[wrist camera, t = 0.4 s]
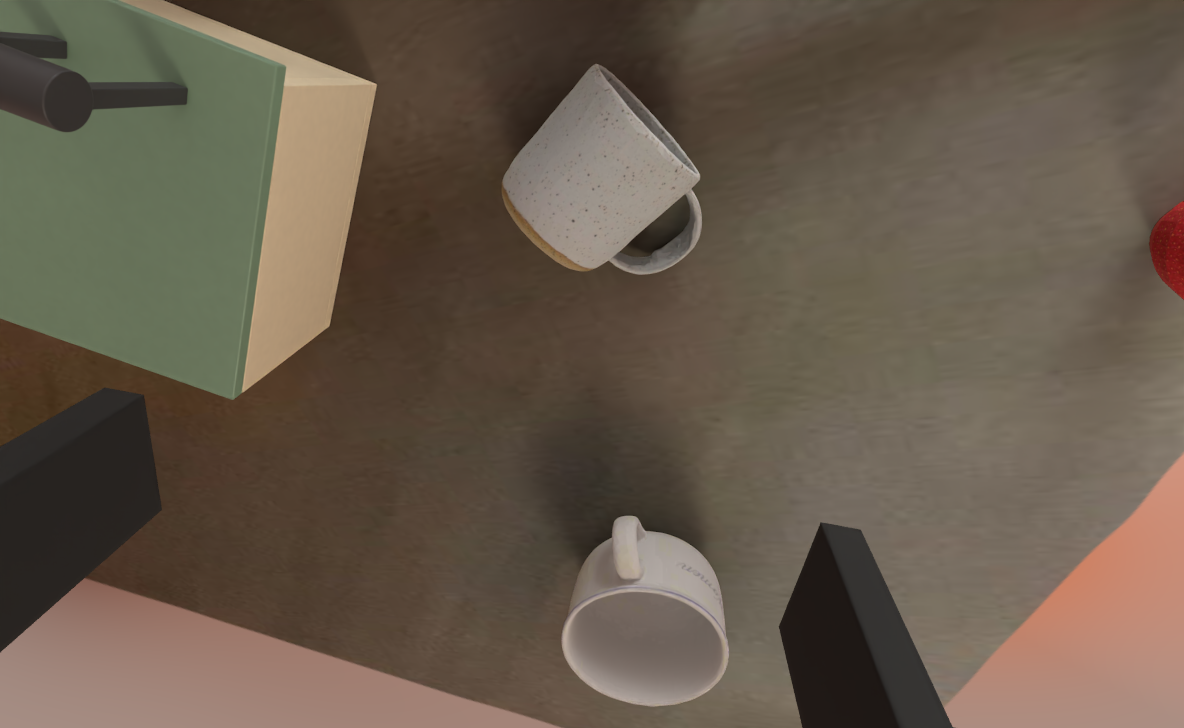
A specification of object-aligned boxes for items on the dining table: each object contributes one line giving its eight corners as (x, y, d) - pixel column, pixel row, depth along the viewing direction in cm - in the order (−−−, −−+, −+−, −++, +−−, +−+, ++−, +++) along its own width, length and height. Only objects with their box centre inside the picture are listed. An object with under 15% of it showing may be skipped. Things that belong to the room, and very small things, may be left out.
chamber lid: (-19, -54, 25) (-282, -107, 18) (287, 65, 26) (151, 60, 19) (-1, 308, 32) (-187, 373, 25) (242, 393, 33) (129, 480, 26)
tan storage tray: (156, -3, 34) (-17, -32, 25) (377, 84, 35) (285, 85, 26) (142, 258, 41) (0, 307, 32) (329, 326, 42) (242, 392, 33)
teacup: (711, 624, 50) (722, 717, 42) (574, 615, 50) (561, 705, 43) (726, 476, 44) (742, 554, 37) (572, 468, 45) (557, 544, 37)
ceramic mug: (505, 174, 37) (473, 199, 30) (602, 60, 34) (591, 58, 27) (635, 296, 39) (633, 345, 32) (735, 199, 36) (757, 230, 29)
